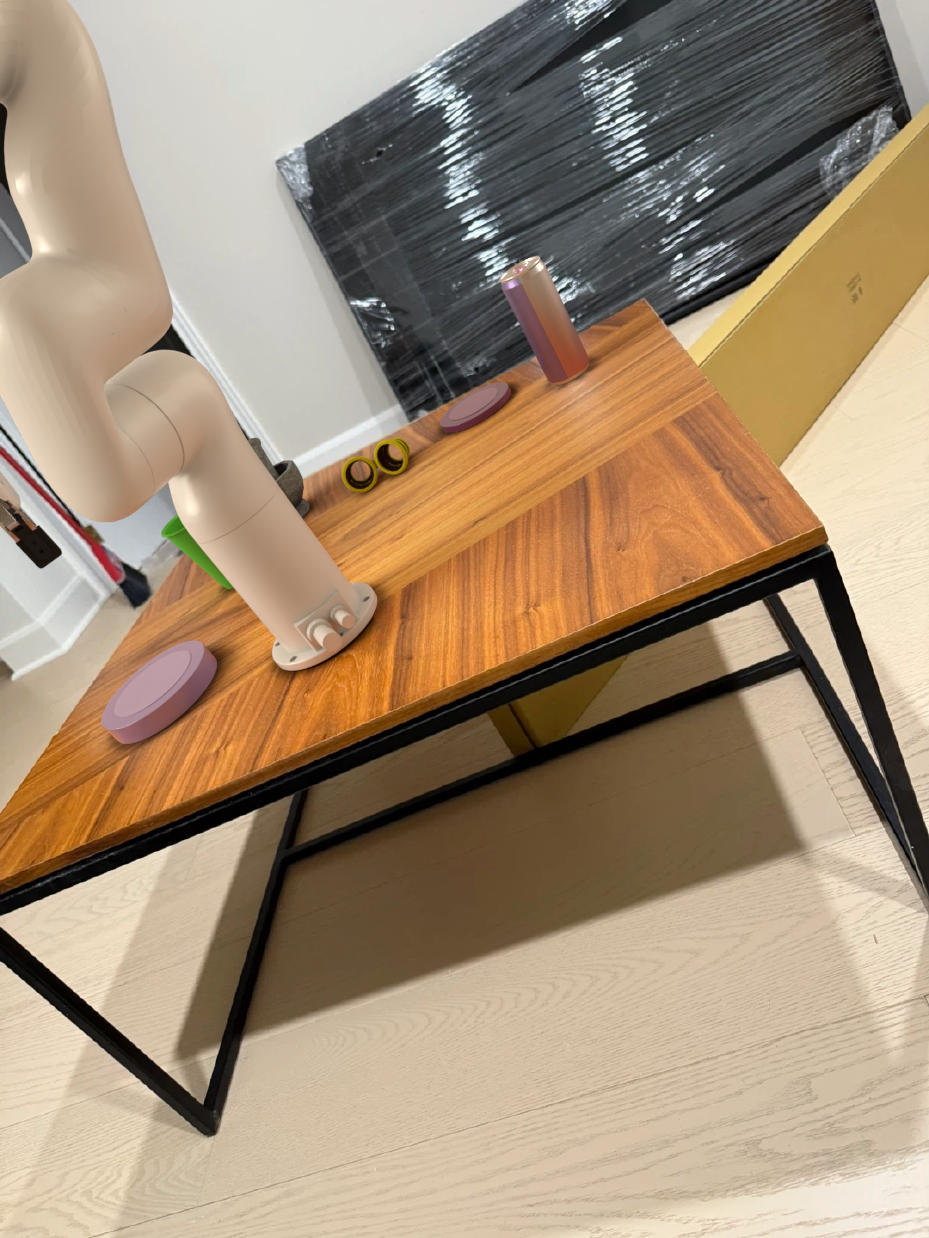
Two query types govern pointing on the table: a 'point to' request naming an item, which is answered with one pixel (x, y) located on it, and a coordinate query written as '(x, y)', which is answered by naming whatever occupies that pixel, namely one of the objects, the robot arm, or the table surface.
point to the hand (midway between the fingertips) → (51, 560)
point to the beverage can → (545, 321)
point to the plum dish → (475, 407)
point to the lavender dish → (159, 692)
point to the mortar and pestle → (284, 477)
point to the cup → (192, 549)
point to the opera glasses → (377, 464)
